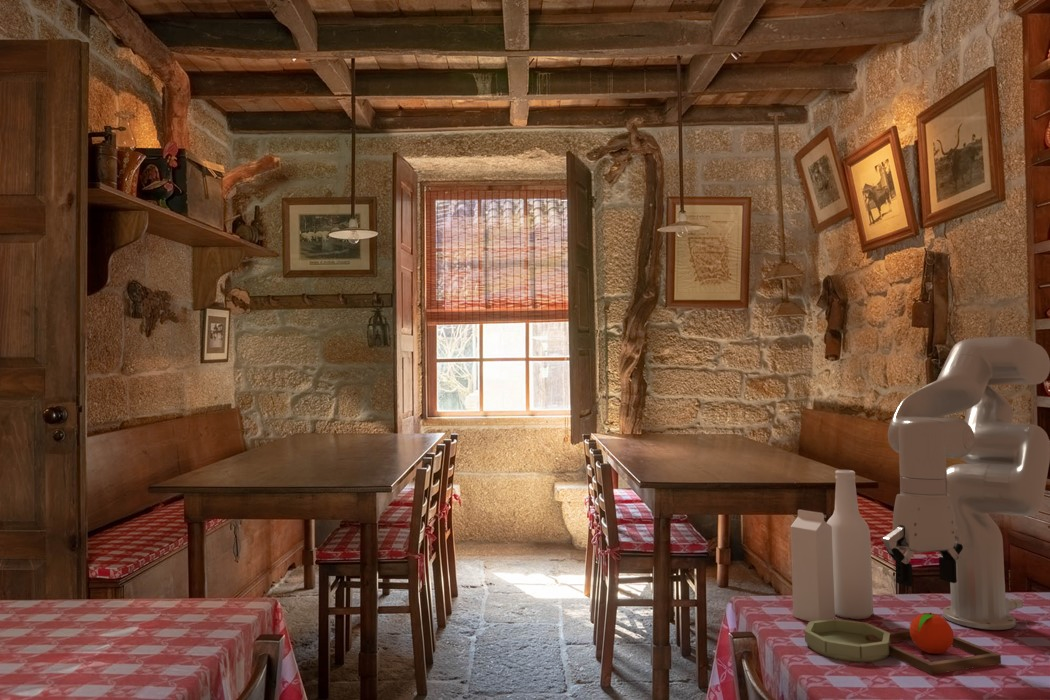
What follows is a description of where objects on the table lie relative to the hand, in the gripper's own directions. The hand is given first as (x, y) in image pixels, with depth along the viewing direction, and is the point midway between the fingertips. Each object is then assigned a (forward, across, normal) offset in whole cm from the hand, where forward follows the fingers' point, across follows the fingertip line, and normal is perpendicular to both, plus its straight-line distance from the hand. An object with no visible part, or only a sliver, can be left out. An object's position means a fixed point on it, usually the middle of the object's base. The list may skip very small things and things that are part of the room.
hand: (926, 582), depth 130 cm
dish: (+13, +11, -7) cm, 18 cm away
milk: (+13, +6, -23) cm, 27 cm away
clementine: (+13, -1, 0) cm, 13 cm away
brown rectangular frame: (+13, -1, 0) cm, 13 cm away
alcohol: (+12, -3, -23) cm, 27 cm away
